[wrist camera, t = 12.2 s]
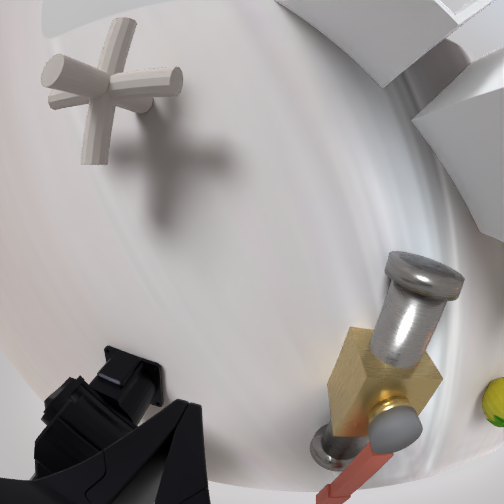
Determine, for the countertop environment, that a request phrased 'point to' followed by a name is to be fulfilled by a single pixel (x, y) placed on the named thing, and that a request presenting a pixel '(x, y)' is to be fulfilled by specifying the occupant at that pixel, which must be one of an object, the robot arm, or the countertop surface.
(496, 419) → the lemon
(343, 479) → the lever
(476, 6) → the storage container
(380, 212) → the countertop surface
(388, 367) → the valve body
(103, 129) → the pipe connector
